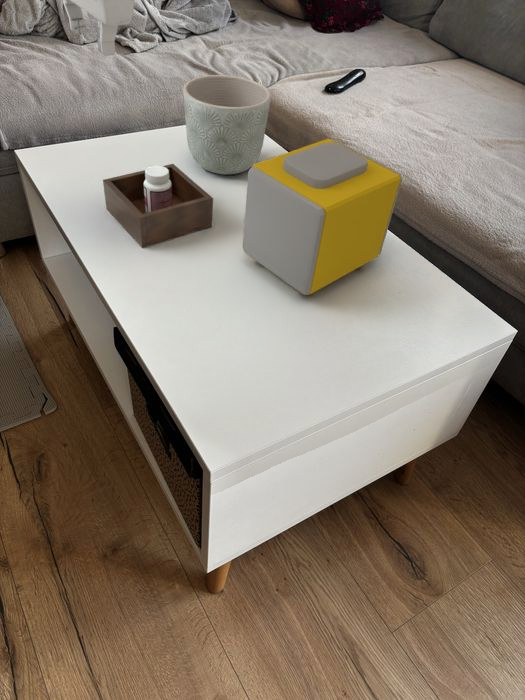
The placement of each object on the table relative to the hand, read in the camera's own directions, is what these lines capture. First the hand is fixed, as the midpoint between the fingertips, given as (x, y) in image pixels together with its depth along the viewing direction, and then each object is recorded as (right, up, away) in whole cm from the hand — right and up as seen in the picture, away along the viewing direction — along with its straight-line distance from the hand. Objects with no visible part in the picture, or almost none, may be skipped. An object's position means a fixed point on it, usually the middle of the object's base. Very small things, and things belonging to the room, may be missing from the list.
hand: (92, 43), depth 76 cm
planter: (+16, -4, +40) cm, 43 cm away
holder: (+5, -19, +23) cm, 30 cm away
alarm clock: (+32, -28, +18) cm, 46 cm away
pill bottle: (+5, -18, +23) cm, 30 cm away
